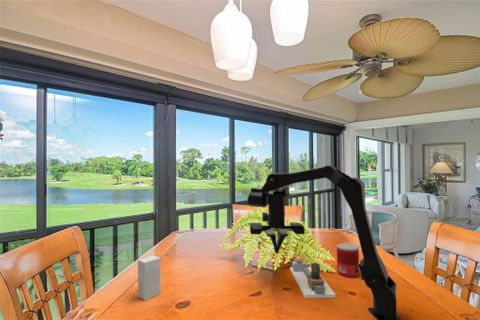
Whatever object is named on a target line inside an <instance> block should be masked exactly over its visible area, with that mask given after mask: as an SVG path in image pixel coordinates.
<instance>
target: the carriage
mask: <svg viewBox="0 0 480 320" xmlns="http://www.w3.org/2000/svg"><path fill="white" fill-rule="evenodd" d="M310 265H311V266H310V267H311V275H307V279H308V285H309V286H310V288H311V289H312V290H314V285H321V286H324V280H325V279H324V278H323V276H322V275H321V274H320V272H321V271H320V269H321V268H320V263H317V262H311V264H310ZM320 275H321V276H322V277H321V276H320ZM322 278H323V279H324V280H323V279H322Z"/></svg>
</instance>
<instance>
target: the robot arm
mask: <svg viewBox="0 0 480 320" xmlns="http://www.w3.org/2000/svg"><path fill="white" fill-rule="evenodd" d="M320 179H321V180H322V179H327V180H328V181H330V182H331V183H332V184H334V185H335V186H336V187H337V188H338V189H340V190H341V192H342V195H343V197H344V199H345V202H346V203H347V205H348V206H349V208H350V210H351V213H352V216H353V217H352V218H353V221H354V225H355V226H354V227H355V230H356V233H357V237H358V241H359V246H360V249H361V253H362V258H363V259H362V258H361V259H360V260H359V272H360V273H361V281H364V284H365V285H366V287H368V288H369V289H370V292H371V294H372V307H367V310H368V311H369V312H370V314H371V315H372V316H373V317H374V318H375V319H376V320H403V319H402V318H401V317H400V316H399V315H398V314H397V283H396V282H395V281H394V280H393V278H391V276H389V273H388V270H387V268H386V265H385V263H384V262H383V260H382V258H381V256H380V255H379V253H378V251H377V250H378V249H377V245H376V243H375V238H374V235H373V231H372V226H371V223H370V220H369V215H368V212H367V208H366V188H365V183H364V181H362V179H360V178H358V177H351V176H349V175H348V174H346V173H344V172H342V171H341V170H340V169H338V168H336V167H335V166H333V165H332V164H331V165H330V164H329V165H327V164H326V165H324V166H321V167H316V168H311V169H305V170H301V171H296V172H295V171H294V172H275V173H270V174H268V175H267V177H266V179H265V182H264V185H263V186H262V187H261V188H257V187H252V188H250V192H249V194H248V197H247V204H248V205H249V206H250V207H256V208H266V207H267V206H268V212H262V213H261V214H262V218H261V219H262V222H264V223H265V222H266V225H262V223H261V222H251V223H250V224H249V233H250V234H251V235H261V234H262V233H263V232H265V234H266V237H268V238H270V240H271V243H272V246H273V249H274V253H275V254H279V251H280V250H281V246H282V244H283V242H284V241H285V238H288V237H289V234H288V232H293V233H294V234H295V235H305V234H306V233H305V232H306V231H305V229H306V228H305V226H304V225H303V224H302V223H300V222H290V224H289V225H286V222H285V221H286V219H285V216H286V212H285V211H286V208H285V207H286V205H285V204H286V203H285V202H286V200H285V199H286V198H287V197H291V193H290V192H289V191H288V190H287V187H290V186H292V185H294V184H298V183H303V182H310V181H315V180H320ZM281 189H282V190H281ZM278 190H279V191H278ZM280 190H281V191H280ZM271 192H272V193H271ZM275 232H276V233H277V235H276V233H275Z"/></svg>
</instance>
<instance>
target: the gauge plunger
mask: <svg viewBox="0 0 480 320" xmlns="http://www.w3.org/2000/svg"><path fill="white" fill-rule="evenodd" d="M295 261H296V262H297V263H302V261H303V257H302V256H299V255H298V256H295Z"/></svg>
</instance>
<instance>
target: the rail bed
mask: <svg viewBox="0 0 480 320" xmlns="http://www.w3.org/2000/svg"><path fill="white" fill-rule="evenodd" d="M310 267H311V266H307V263H306V261H305V260H302V263H297V262H296V260H294V261H293V260H292V261H291V266H290V268H289V271H290V273H291V274H292V276H293V278H294V281H295V282H296V284H297V285H298V288H299V289H300V292H301V293H302V295H303V296H304V298H305V299H314V298H315V299H317V298H318V299H319V298H320V299H321V298H322V299H323V298H325V299H326V298H329V299H331V298H336V296H337V295H336V293H335V292H334V291H333V289H332V288H331V287H330V286H329V284H328V283H327V281H326V280H325V279H324V278H323V276H322V275H321V274H320V276H321V277H322V279H323V280H324V286H321V285H314V290H312V289H311V288H310V286H309V285H308V279H307V275H311V268H310Z"/></svg>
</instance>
